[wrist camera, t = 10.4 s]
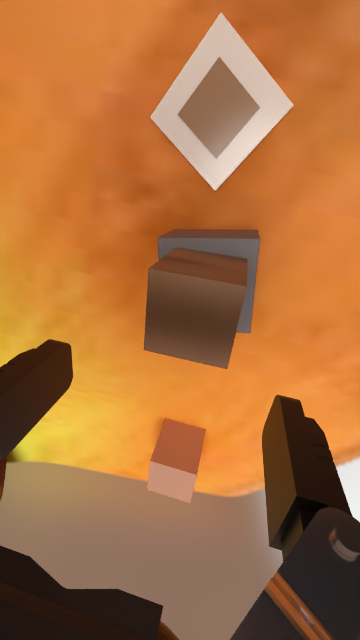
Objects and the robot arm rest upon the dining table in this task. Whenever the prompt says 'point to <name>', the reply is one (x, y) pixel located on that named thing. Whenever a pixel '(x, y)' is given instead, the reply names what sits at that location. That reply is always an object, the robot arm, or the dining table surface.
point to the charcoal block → (224, 244)
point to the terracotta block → (176, 460)
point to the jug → (2, 475)
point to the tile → (220, 104)
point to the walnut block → (195, 305)
